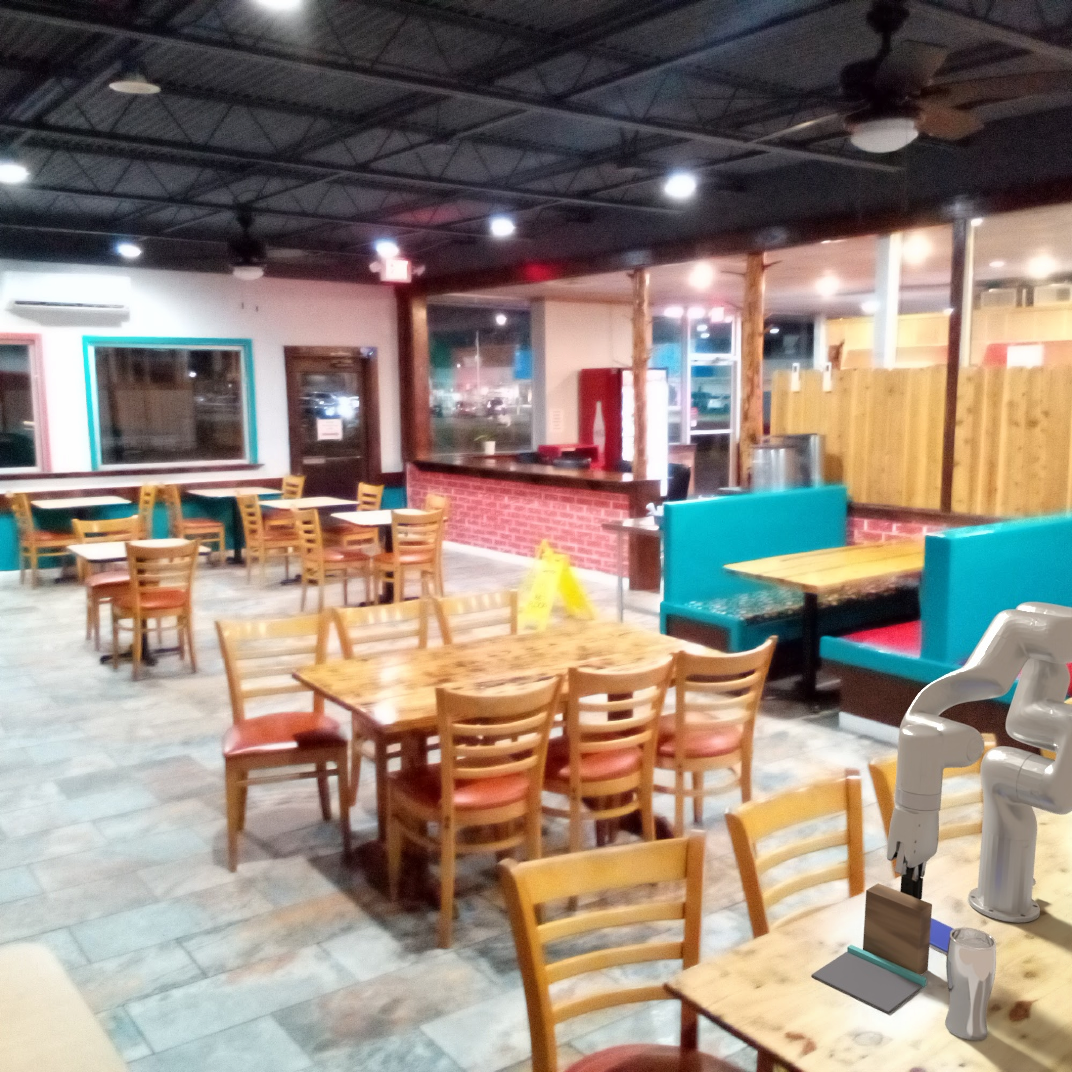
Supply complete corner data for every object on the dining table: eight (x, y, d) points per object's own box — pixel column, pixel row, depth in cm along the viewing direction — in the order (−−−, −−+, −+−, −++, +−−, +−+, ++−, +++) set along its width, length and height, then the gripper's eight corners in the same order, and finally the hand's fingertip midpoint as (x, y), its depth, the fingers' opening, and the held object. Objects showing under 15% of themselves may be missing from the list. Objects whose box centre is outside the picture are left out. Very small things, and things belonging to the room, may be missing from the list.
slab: (874, 947, 180) (878, 883, 179) (927, 970, 173) (932, 904, 171) (862, 954, 178) (866, 890, 176) (916, 978, 170) (920, 911, 169)
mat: (846, 953, 178) (846, 951, 178) (921, 988, 167) (922, 985, 167) (811, 976, 170) (811, 974, 170) (888, 1013, 160) (888, 1011, 160)
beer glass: (967, 1047, 152) (973, 953, 150) (932, 1021, 158) (938, 931, 156) (1000, 1036, 155) (1008, 944, 153) (965, 1011, 161) (971, 923, 159)
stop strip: (850, 950, 179) (851, 944, 179) (926, 984, 168) (926, 978, 168) (847, 953, 178) (847, 946, 178) (922, 987, 168) (923, 980, 168)
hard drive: (904, 928, 185) (965, 959, 175) (931, 916, 189) (992, 945, 179) (903, 936, 185) (965, 968, 175) (930, 924, 190) (992, 954, 179)
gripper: (918, 781, 183) (911, 878, 185) (875, 801, 173) (869, 903, 175) (958, 793, 177) (951, 893, 179) (917, 815, 167) (909, 919, 169)
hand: (910, 897), depth 177 cm, fingers closed
